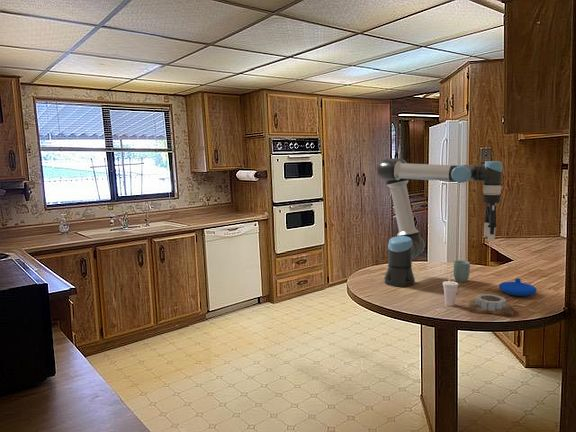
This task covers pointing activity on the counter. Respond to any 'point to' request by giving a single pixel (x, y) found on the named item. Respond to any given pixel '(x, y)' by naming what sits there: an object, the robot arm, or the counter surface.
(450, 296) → the smoothie
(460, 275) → the cup
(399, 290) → the counter surface
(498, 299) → the ring
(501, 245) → the counter surface
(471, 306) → the board
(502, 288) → the blue funnel
